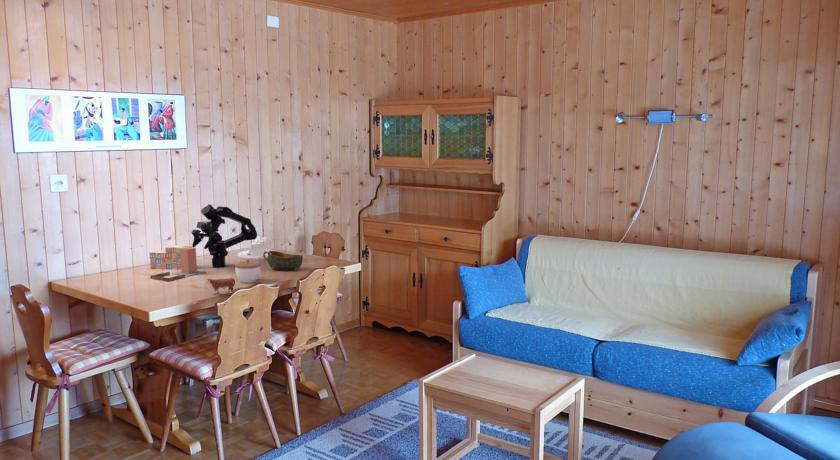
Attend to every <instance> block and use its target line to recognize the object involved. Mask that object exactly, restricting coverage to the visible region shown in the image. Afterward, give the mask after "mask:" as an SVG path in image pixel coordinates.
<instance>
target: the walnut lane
mask: <svg viewBox="0 0 840 460" xmlns="http://www.w3.org/2000/svg"><path fill="white" fill-rule="evenodd" d="M170 275H171V272H170V271H167V272H161V273H156V274H152V275H150V279H152V280H158V281H163V282H170V281H175V280H180V279H184V277H185V278H186V276H185V274H183V275H175V276H170ZM165 276H166V277H165ZM167 276H170V277H167Z"/></svg>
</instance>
